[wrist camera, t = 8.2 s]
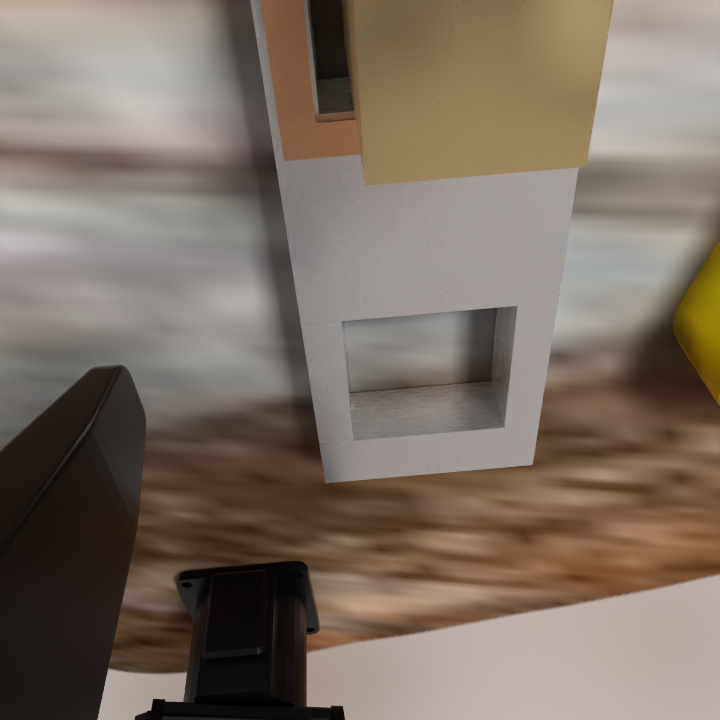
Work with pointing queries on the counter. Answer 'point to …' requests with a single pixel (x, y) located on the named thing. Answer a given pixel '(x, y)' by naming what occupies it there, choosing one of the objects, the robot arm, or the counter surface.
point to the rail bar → (407, 274)
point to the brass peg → (473, 85)
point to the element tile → (702, 323)
